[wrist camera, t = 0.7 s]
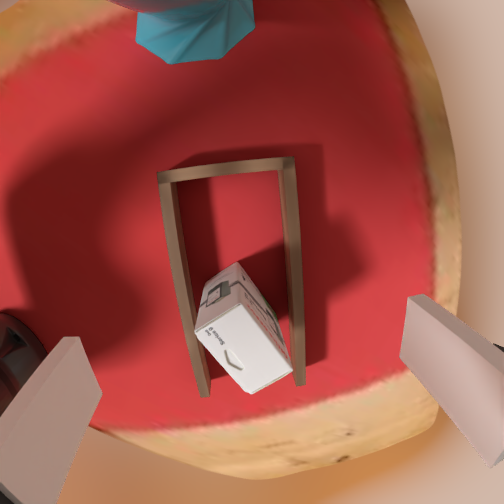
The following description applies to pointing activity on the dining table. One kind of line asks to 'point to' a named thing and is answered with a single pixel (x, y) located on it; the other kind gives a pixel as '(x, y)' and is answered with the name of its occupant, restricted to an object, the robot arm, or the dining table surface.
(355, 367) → the dining table surface
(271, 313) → the ink box
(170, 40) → the vase
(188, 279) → the walnut frame
